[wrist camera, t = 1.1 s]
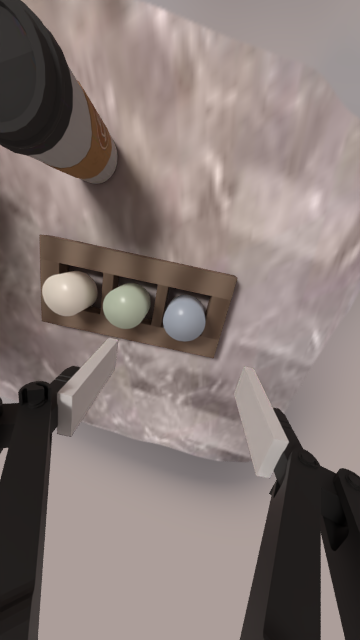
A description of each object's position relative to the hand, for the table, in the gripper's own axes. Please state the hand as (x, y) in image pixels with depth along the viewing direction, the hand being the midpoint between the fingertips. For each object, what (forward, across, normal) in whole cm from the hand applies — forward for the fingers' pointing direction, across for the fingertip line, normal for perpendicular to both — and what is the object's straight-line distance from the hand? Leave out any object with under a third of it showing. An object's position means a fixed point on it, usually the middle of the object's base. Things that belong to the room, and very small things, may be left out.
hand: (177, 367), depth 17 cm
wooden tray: (+18, -8, 0) cm, 19 cm away
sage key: (+15, -8, 0) cm, 17 cm away
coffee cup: (+18, -16, +17) cm, 30 cm away
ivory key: (+15, -16, 0) cm, 22 cm away
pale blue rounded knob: (+15, 0, 0) cm, 15 cm away
